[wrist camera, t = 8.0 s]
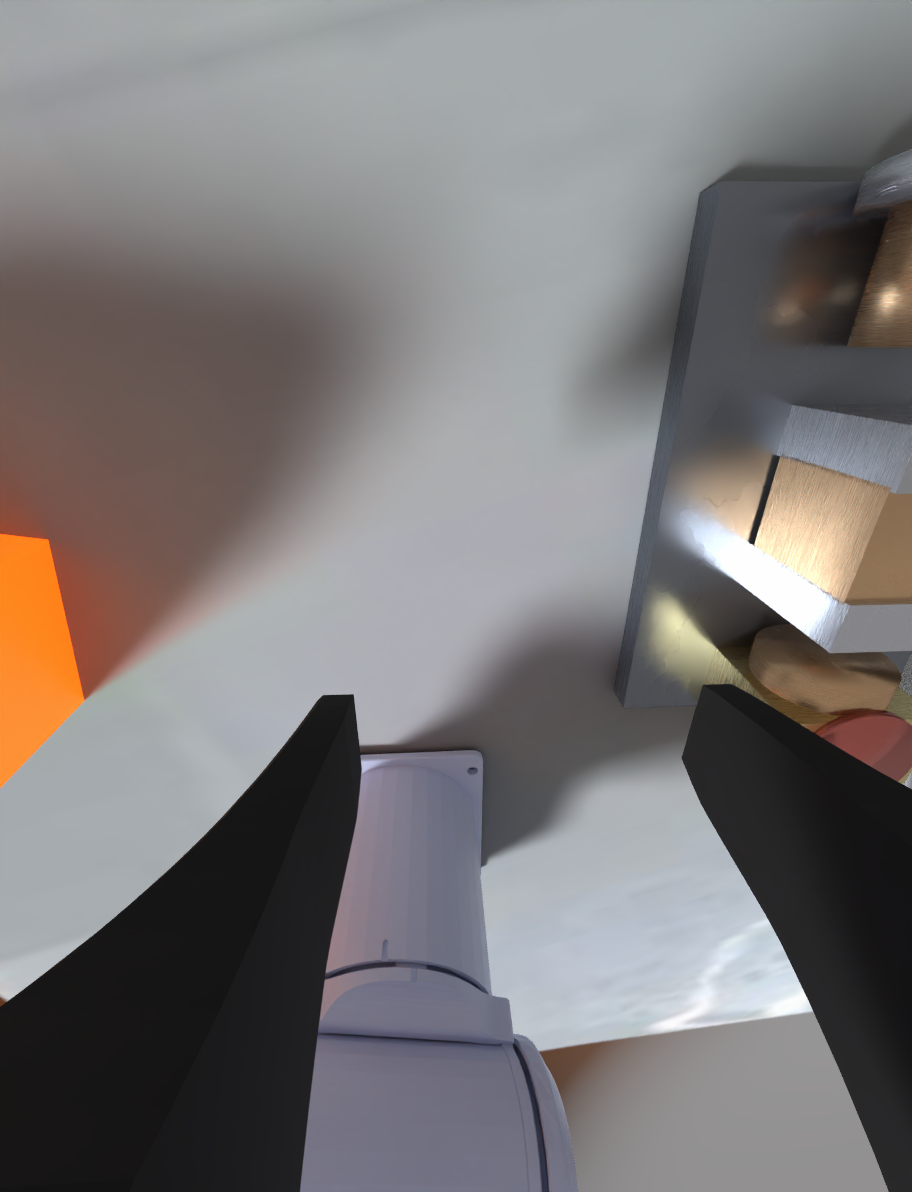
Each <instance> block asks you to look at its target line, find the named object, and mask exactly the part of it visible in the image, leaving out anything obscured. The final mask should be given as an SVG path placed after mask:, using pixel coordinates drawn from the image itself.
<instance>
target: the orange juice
mask: <svg viewBox="0 0 912 1192" xmlns="http://www.w3.org/2000/svg"><path fill="white" fill-rule="evenodd" d="M83 701H84V697H83V693H82V688H81V684H80V679H79V675H78V670H77V666H76V661H75V657H74V652H73V648H72V644H71V639H70V635H69V630H68V626H67V621H66V617H65V612H64V608H63V603H62V599H61V595H60V590H59V586H58V581H57V577H56V572H55V568H54V563H53V559H52V554H51V550H50V545H49V541H48V540H46V539H38V538H30V537H22V536H14V535H5V534H0V788H1V787H2V786H3V785H4V783H5V782H6V781H7V780H8V779H9V778H10V777H11V776H12V775H13V774H14V773H15V772H16V771H17V770H18V769H19V768H20V767H21V766H22V765H23V764H24V763H25V762H26V761H27V760H28V759H29V758H30V756H31V755H32V754H33V753H34V752H35V751H36V750H37V749H38V748H39V747H40V746H41V745H42V744H43V743H44V742H45V741H46V740H47V739H48V738H49V737H50V736H51V735H52V734H53V733H54V732H55V731H56V729H57V728H58V727H59V726H60V725H61V724H62V723H63V722H64V721H65V720H66V719H67V718H68V717H69V716H70V715H71V714H72V713H73V712H74V711H75V710H76V709H77V708H78V707H79V706H80V705H81V703H82V702H83Z"/></svg>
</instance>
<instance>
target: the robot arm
mask: <svg viewBox="0 0 912 1192" xmlns="http://www.w3.org/2000/svg"><path fill="white" fill-rule="evenodd" d="M682 760H683V763H684V765H685V768H686V770H687V772H688V775H689V777H690V780H691V782H692V785H693V787H694V789H695V791H696V794H697V796H698V798H699V800H700V803H701V805H702V807H703V808H704V810H705V812H706V814H707V815H708V817H709V819H710V821H711V822H712V824H713V826H714V828H715V829H716V831H717V833H718V835H719V836H720V838H721V840H722V841H723V843H724V845H725V847H726V848H727V850H728V852H729V853H730V855H731V857H732V858H733V860H734V862H735V864H736V865H737V867H738V869H739V870H740V872H741V874H742V875H743V877H744V879H745V880H746V882H747V884H748V886H749V887H750V889H751V891H752V892H753V894H754V896H755V897H756V899H757V901H758V902H759V904H760V906H761V908H762V909H763V911H764V913H765V914H766V916H767V918H768V920H769V922H770V923H771V925H772V927H773V929H774V931H775V933H776V935H777V936H778V938H779V940H780V942H781V944H782V946H783V948H784V950H785V952H786V954H787V956H788V959H789V961H790V963H791V965H792V967H793V969H794V971H795V973H796V975H797V977H798V980H799V982H800V984H801V986H802V988H803V990H804V992H805V994H806V996H807V998H808V1000H809V1003H810V1005H811V1007H812V1009H813V1012H814V1014H815V1016H816V1018H817V1020H818V1023H819V1025H820V1027H821V1029H822V1032H823V1034H824V1036H825V1038H826V1041H827V1043H828V1045H829V1047H830V1050H831V1052H832V1054H833V1056H834V1058H835V1061H836V1063H837V1065H838V1067H839V1070H840V1072H841V1074H842V1077H843V1079H844V1082H845V1084H846V1086H847V1089H848V1091H849V1094H850V1096H851V1098H852V1101H853V1103H854V1106H855V1108H856V1111H857V1113H858V1115H859V1118H860V1120H861V1123H862V1125H863V1128H864V1130H865V1132H866V1135H867V1137H868V1139H869V1142H870V1144H871V1147H872V1149H873V1152H874V1154H875V1157H876V1159H877V1162H878V1164H879V1167H880V1170H881V1172H882V1175H883V1178H884V1180H885V1183H886V1185H887V1188H888V1191H889V1192H912V789H910V788H908V787H906V786H905V785H903V784H901V783H899V782H897V781H896V780H894V779H892V778H890V777H888V776H887V775H885V774H883V773H881V772H879V771H878V770H876V769H874V768H872V767H871V766H869V765H867V764H866V763H864V762H862V761H860V760H859V759H857V758H855V757H853V756H852V755H850V754H848V753H847V752H845V751H843V750H842V749H840V748H838V747H837V746H835V745H833V744H832V743H830V742H828V741H827V740H825V739H823V738H822V737H820V736H819V735H817V734H815V733H814V732H812V731H810V730H809V729H807V728H805V727H804V726H802V725H801V724H799V723H797V722H796V721H794V720H792V719H791V718H789V717H788V716H786V715H784V714H783V713H781V712H779V711H778V710H776V709H774V708H773V707H771V706H769V705H768V704H766V703H764V702H763V701H761V700H759V699H758V698H756V697H754V696H753V695H751V694H749V693H747V692H746V691H744V690H742V689H740V688H738V687H736V686H734V685H732V684H710V685H702V689H701V692H700V696H699V699H698V703H697V706H696V710H695V713H694V717H693V720H692V724H691V727H690V731H689V734H688V738H687V741H686V745H685V748H684V752H683V755H682ZM471 767H476V768H473V769H470V768H471ZM482 790H483V757H482V754H481V753H480V752H478V751H476V750H463V751H440V752H417V753H394V754H371V755H360V748H359V739H358V730H357V721H356V712H355V703H354V694H352V695H323V696H322V697H321V698H320V699H319V700H318V701H317V702H316V704H315V705H314V706H313V708H312V709H311V710H310V712H309V713H308V715H307V716H306V717H305V719H304V720H303V721H302V723H301V724H300V725H299V727H298V728H297V729H296V731H295V732H294V733H293V735H292V736H291V737H290V738H289V740H288V741H287V742H286V744H285V745H284V746H283V747H282V749H281V750H280V751H279V752H278V754H277V755H276V756H275V757H274V758H273V760H272V761H271V762H270V763H269V765H268V766H267V767H266V768H265V769H264V771H263V772H262V773H261V774H260V775H259V777H258V778H257V779H256V780H255V781H254V782H253V784H252V785H251V786H250V787H249V788H248V789H247V790H246V791H245V792H244V794H243V795H242V796H241V797H240V798H239V799H238V800H237V801H236V802H235V804H234V805H233V806H232V807H231V808H230V809H229V810H228V811H227V812H226V813H225V815H224V816H223V817H222V818H221V819H220V820H219V821H218V822H217V823H216V824H215V825H214V826H213V827H212V828H211V829H210V830H209V831H208V832H207V833H206V834H205V835H204V836H203V837H202V838H201V839H200V840H199V841H198V842H197V843H196V844H195V845H194V846H193V847H192V848H191V849H190V850H189V851H188V852H187V853H186V854H185V855H184V856H183V857H182V858H181V859H180V860H179V861H178V862H177V863H175V864H174V865H173V866H172V867H171V868H170V869H169V870H168V871H167V872H166V873H165V874H164V875H162V876H161V877H160V878H159V879H158V880H157V881H156V882H155V883H153V884H152V885H151V886H150V887H149V888H148V889H147V890H146V891H144V892H143V893H142V894H141V895H140V896H139V897H138V898H137V899H136V900H134V901H133V902H132V903H131V904H130V905H129V906H128V907H126V908H125V909H124V910H123V911H122V912H121V913H119V914H118V915H117V916H116V917H115V918H114V919H112V920H111V921H110V922H109V923H108V924H106V925H105V926H104V927H103V928H102V929H100V930H99V931H98V932H97V933H95V934H94V935H93V936H92V937H90V938H89V939H88V940H87V941H85V942H84V943H83V944H81V945H80V946H79V947H78V948H76V949H75V950H74V951H73V952H71V953H70V954H69V955H67V956H66V957H65V958H64V959H62V960H61V961H60V962H59V963H57V964H56V965H55V966H53V967H52V968H51V969H50V970H48V971H47V972H46V973H45V974H43V975H42V976H41V977H39V978H38V979H37V980H36V981H34V982H33V983H32V984H30V985H29V986H28V987H26V988H25V989H24V990H22V991H21V992H20V993H18V994H17V995H16V996H14V997H13V998H12V999H10V1000H9V1001H8V1002H6V1003H5V1004H4V1005H2V1006H1V1007H0V1192H578V1188H577V1178H576V1169H575V1162H574V1155H573V1149H572V1142H571V1137H570V1132H569V1128H568V1123H567V1118H566V1114H565V1110H564V1107H563V1103H562V1100H561V1097H560V1094H559V1091H558V1089H557V1086H556V1084H555V1081H554V1079H553V1077H552V1075H551V1073H550V1071H549V1069H548V1068H547V1066H546V1065H545V1063H544V1061H543V1059H542V1057H541V1054H540V1053H539V1051H538V1050H537V1048H536V1047H535V1045H534V1044H533V1042H532V1041H531V1040H529V1039H528V1038H527V1037H525V1036H522V1035H519V1034H513V1028H512V1020H511V1012H510V1004H509V1000H508V999H507V998H502V997H496V996H492V991H491V981H490V970H489V960H488V950H487V939H486V929H485V919H484V909H483V898H482V888H481V878H480V875H481V835H482Z"/></svg>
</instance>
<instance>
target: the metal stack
mask: <svg viewBox="0 0 912 1192" xmlns="http://www.w3.org/2000/svg"><path fill="white" fill-rule="evenodd" d="M852 404H912V149H910V150H907V151H904V152H902V153H899V154H897V155H894V156H892V157H890V158H888V159H885V160H884V161H882V162H880V163H878V164H876V165H875V166H873V167H872V168H870V169H869V170H868V171H867V172H866V173H865V174H864V176H863V179H862V181H721V182H719V183H717V184H715V185H713V186H712V187H710V188H708V189H706V190H704V191H703V192H701V193H700V195H699V201H698V207H697V213H696V219H695V224H694V230H693V236H692V242H691V248H690V253H689V259H688V265H687V271H686V277H685V282H684V288H683V294H682V300H681V306H680V311H679V317H678V323H677V329H676V335H675V340H674V346H673V352H672V358H671V364H670V370H669V375H668V381H667V387H666V393H665V399H664V404H663V410H662V416H661V422H660V428H659V433H658V439H657V445H656V451H655V457H654V462H653V468H652V474H651V480H650V486H649V491H648V497H647V503H646V509H645V515H644V520H643V526H642V532H641V538H640V544H639V549H638V555H637V561H636V567H635V573H634V579H633V584H632V590H631V596H630V602H629V608H628V613H627V619H626V625H625V631H624V637H623V642H622V648H621V654H620V660H619V666H618V671H617V677H616V683H615V689H614V692H615V693H616V695H617V697H618V699H619V701H620V703H621V705H622V707H623V708H642V707H667V706H692V705H697V703H698V699H699V696H700V692H701V689H702V685H710V684H732V685H734V686H736V687H738V688H740V689H742V690H744V691H746V692H747V693H749V694H751V695H753V696H754V697H756V698H758V699H759V700H761V701H763V702H764V703H766V704H768V705H769V706H771V707H773V708H774V709H776V710H778V711H779V712H781V713H783V714H784V715H786V716H788V717H789V718H791V719H792V720H794V721H796V722H797V723H799V724H801V725H802V726H804V727H805V728H807V729H809V730H810V731H812V732H814V733H815V734H817V735H819V736H820V737H822V738H823V739H825V740H827V741H828V742H830V743H832V744H833V745H835V746H837V747H838V748H840V749H842V750H843V751H845V752H847V753H848V754H850V755H852V756H853V757H855V758H857V759H859V760H860V761H862V762H864V763H866V764H867V765H869V766H871V767H872V768H874V769H876V770H878V771H879V772H881V773H883V774H885V775H887V776H888V777H890V778H892V779H894V780H896V781H897V782H899V783H905V781H906V779H907V778H908V776H909V774H910V772H911V771H912V697H911V696H910V695H909V694H907V693H906V692H905V691H903V690H902V689H901V688H899V687H898V686H899V684H900V682H901V673H902V671H903V669H904V666H905V664H906V662H907V660H908V658H909V656H910V654H911V652H912V651H888V652H855V653H829V652H828V651H827V650H825V649H824V648H823V647H821V646H820V645H819V644H818V643H816V642H815V641H814V640H812V639H811V638H810V637H809V636H807V635H806V634H805V633H803V632H802V631H801V630H799V629H798V628H797V627H796V626H794V625H793V624H792V623H790V622H789V621H788V620H786V619H785V618H784V617H783V616H781V615H780V614H779V613H777V612H776V611H775V610H774V609H772V608H771V607H770V606H768V605H767V604H766V603H764V602H763V601H762V600H761V599H759V598H758V597H757V596H755V595H754V594H753V593H752V592H750V591H749V590H748V589H746V588H745V587H744V586H742V585H741V584H740V579H741V576H742V572H743V569H744V566H745V562H746V559H747V555H748V552H749V548H750V545H751V544H755V541H756V537H757V534H758V531H759V527H760V524H761V520H762V517H763V513H764V510H765V507H766V503H767V500H768V496H769V493H770V490H771V486H772V483H773V479H774V476H775V473H776V469H777V466H778V462H779V459H780V456H777V452H778V448H779V445H780V441H781V438H782V435H783V431H784V428H785V424H786V421H787V417H788V414H789V410H790V407H791V405H852Z"/></svg>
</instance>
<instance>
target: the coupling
mask: <svg viewBox="0 0 912 1192" xmlns="http://www.w3.org/2000/svg"><path fill="white" fill-rule="evenodd" d="M777 456H780V459H779V462H778V466H777V469H776V473H775V476H774V479H773V483H772V486H771V490H770V493H769V496H768V500H767V503H766V507H765V510H764V513H763V517H762V520H761V524H760V527H759V531H758V534H757V537H756V541H755V544H751V545H750V548H749V552H748V555H747V559H746V562H745V566H744V569H743V572H742V576H741V579H740V584H741V585H742V586H744V587H745V588H746V589H748V590H749V591H750V592H752V593H753V594H754V595H755V596H757V597H758V598H759V599H761V600H762V601H763V602H764V603H766V604H767V605H768V606H770V607H771V608H772V609H774V610H775V611H776V612H777V613H779V614H780V615H781V616H783V617H784V618H785V619H786V620H788V621H789V622H790V623H792V624H793V625H794V626H796V627H797V628H798V629H799V630H801V631H802V632H803V633H805V634H806V635H807V636H809V637H810V638H811V639H812V640H814V641H815V642H816V643H818V644H819V645H820V646H821V647H823V648H824V649H825V650H827V651H828V652H829V653H855V652H888V651H912V404H852V405H791V407H790V410H789V414H788V417H787V421H786V424H785V428H784V431H783V435H782V438H781V441H780V445H779V448H778V452H777Z"/></svg>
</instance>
